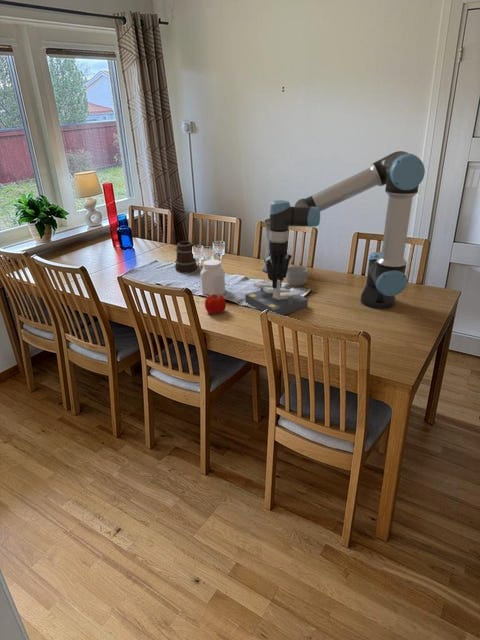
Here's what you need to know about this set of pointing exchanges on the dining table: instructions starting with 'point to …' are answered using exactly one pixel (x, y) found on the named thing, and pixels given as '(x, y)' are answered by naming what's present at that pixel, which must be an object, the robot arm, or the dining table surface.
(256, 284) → the rocker
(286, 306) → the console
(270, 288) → the rocker
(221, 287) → the jar
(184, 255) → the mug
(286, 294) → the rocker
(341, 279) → the dining table surface
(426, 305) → the dining table surface
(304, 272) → the teacup
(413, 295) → the dining table surface
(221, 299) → the tomato
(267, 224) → the vase
